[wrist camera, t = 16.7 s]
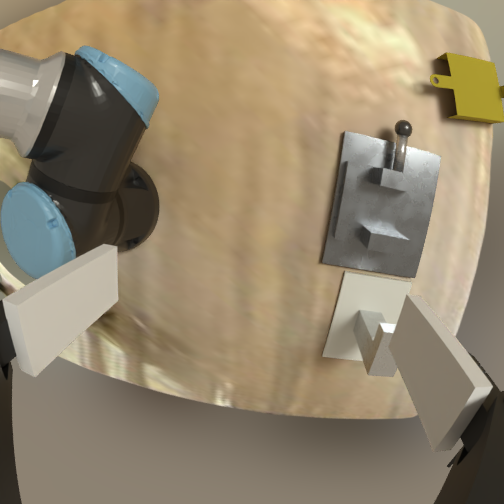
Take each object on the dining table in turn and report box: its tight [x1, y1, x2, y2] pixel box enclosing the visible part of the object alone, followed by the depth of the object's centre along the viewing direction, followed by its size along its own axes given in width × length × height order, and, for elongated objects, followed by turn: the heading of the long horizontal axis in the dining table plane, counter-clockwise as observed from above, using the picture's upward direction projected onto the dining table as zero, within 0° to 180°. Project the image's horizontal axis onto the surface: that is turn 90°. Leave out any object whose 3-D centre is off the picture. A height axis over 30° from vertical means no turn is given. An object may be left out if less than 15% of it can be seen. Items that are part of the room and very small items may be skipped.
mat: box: [322, 271, 412, 361], centre depth 50 cm, size 12×16×1 cm
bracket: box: [430, 52, 504, 124], centre depth 34 cm, size 16×8×15 cm
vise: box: [322, 120, 441, 278], centre depth 41 cm, size 16×23×6 cm
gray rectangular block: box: [353, 310, 397, 377], centre depth 43 cm, size 4×7×12 cm, turn 172°
